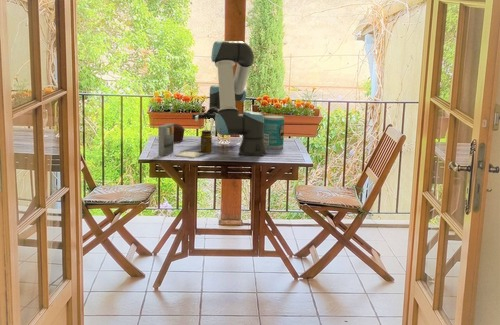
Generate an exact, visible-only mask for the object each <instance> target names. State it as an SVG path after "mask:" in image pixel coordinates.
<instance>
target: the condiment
mask: <svg viewBox="0 0 500 325" xmlns="http://www.w3.org/2000/svg"><path fill="white" fill-rule="evenodd" d="M212 139H213V136H212V131H211V130H208V129H207V130H206V129H204V130H202V131H201V135H200V150H197V151H195V153H203V154H204V155H206V154H210V153H215V151H212V146H213V145H212V144H213V142H212ZM203 154H202V155H203Z"/></svg>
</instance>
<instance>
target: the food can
mask: <svg viewBox="0 0 500 325" xmlns="http://www.w3.org/2000/svg"><path fill="white" fill-rule="evenodd" d="M263 116H264V136H263V141H264V144H265V148H266V149H271V150H278V149H282V148H284V139H285V138H284V135H285V116H283V115H279V114H278V115H277V114H269V115H263Z"/></svg>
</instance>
